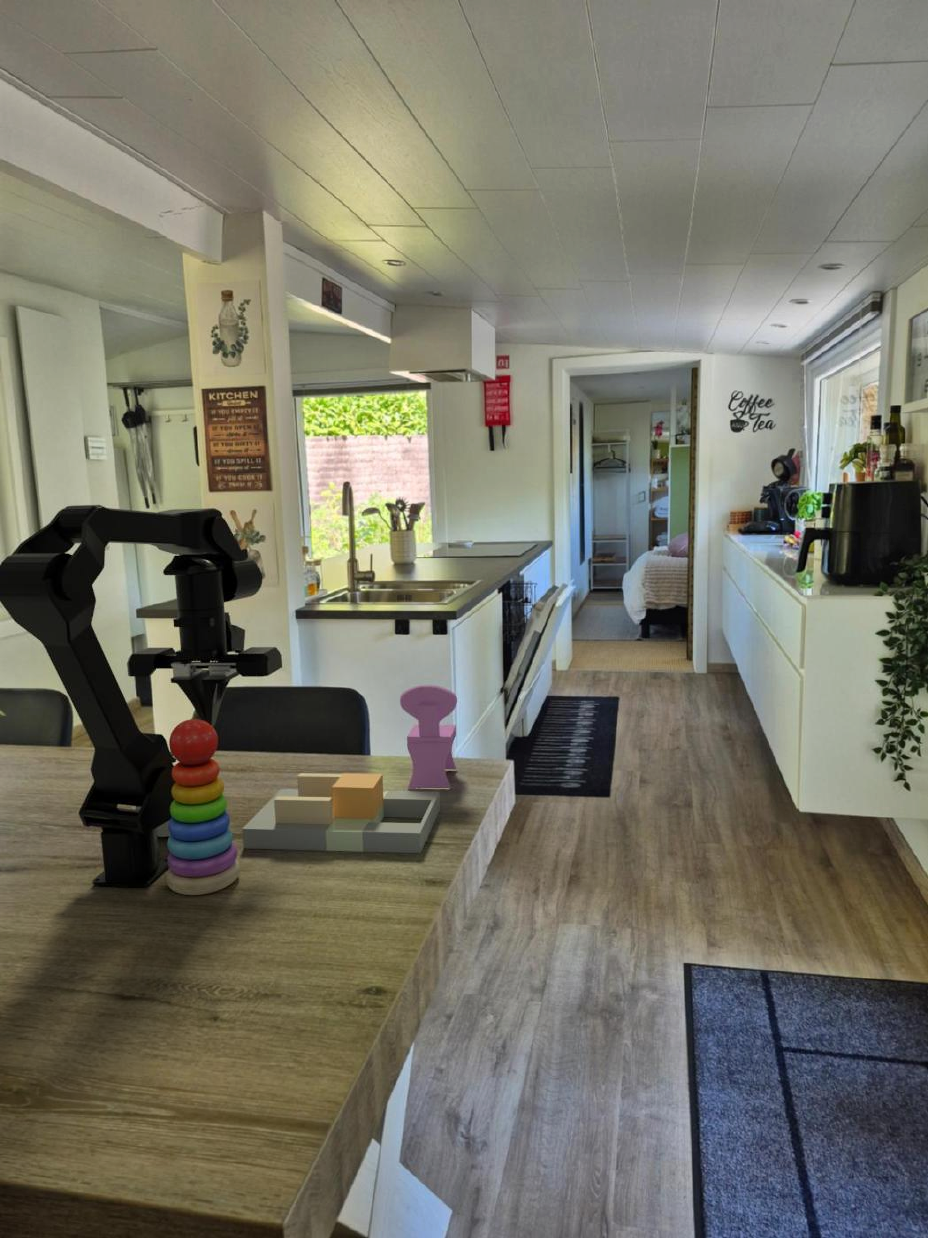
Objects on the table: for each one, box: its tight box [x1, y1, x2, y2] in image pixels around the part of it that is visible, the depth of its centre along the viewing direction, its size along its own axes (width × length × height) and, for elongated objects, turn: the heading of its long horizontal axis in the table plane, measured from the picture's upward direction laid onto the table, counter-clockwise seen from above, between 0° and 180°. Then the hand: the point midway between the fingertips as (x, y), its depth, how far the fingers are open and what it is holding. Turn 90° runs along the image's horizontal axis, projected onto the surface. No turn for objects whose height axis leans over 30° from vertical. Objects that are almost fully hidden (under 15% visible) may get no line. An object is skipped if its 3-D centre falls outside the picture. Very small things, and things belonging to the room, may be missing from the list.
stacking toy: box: [165, 718, 241, 896], centre depth 95 cm, size 8×8×19 cm
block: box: [332, 772, 384, 819], centre depth 110 cm, size 5×5×4 cm
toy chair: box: [399, 684, 458, 790], centre depth 127 cm, size 8×9×15 cm
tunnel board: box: [241, 772, 441, 854], centre depth 110 cm, size 14×22×6 cm, turn 82°
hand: (210, 726), depth 112 cm, fingers closed
